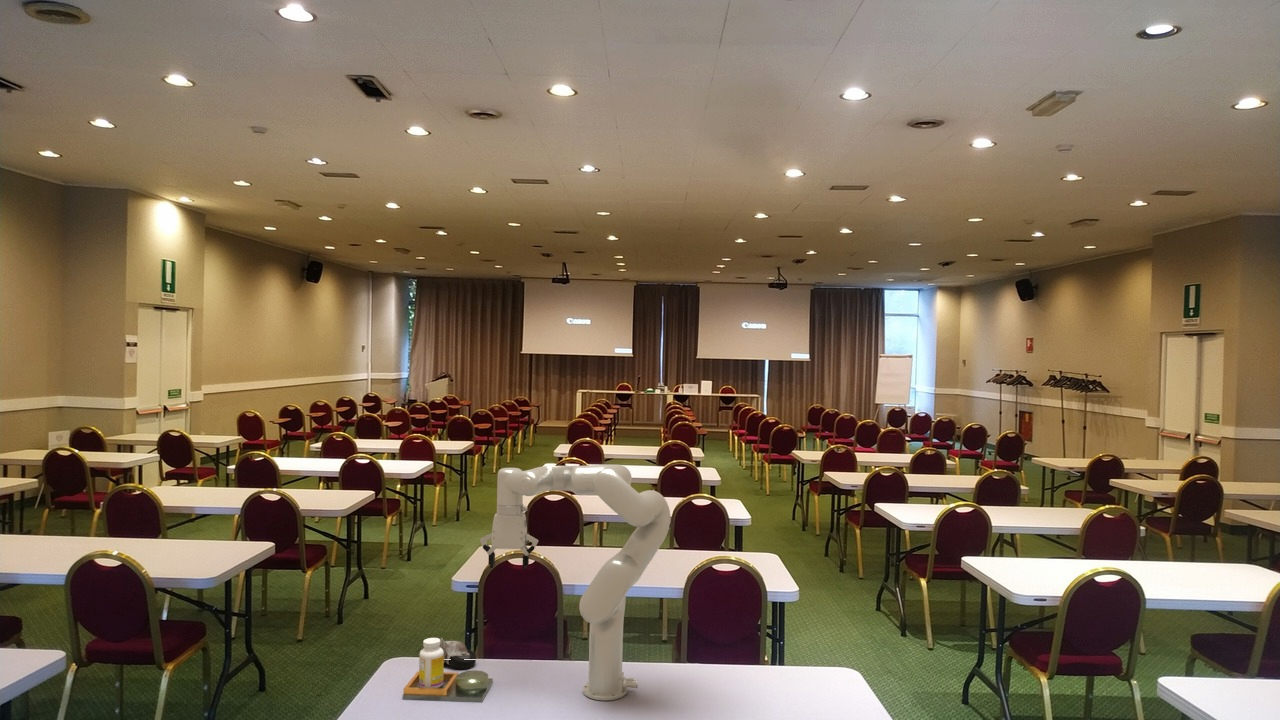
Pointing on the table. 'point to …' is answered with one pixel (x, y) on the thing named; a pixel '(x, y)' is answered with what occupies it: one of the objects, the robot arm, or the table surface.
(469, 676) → the grey base plate
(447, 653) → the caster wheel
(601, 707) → the table surface
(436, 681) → the supplement bottle
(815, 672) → the table surface
